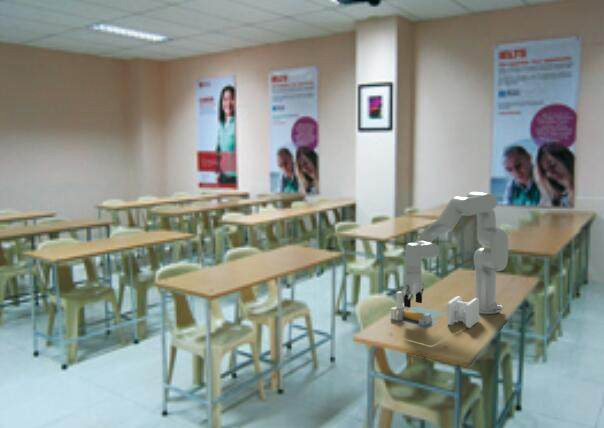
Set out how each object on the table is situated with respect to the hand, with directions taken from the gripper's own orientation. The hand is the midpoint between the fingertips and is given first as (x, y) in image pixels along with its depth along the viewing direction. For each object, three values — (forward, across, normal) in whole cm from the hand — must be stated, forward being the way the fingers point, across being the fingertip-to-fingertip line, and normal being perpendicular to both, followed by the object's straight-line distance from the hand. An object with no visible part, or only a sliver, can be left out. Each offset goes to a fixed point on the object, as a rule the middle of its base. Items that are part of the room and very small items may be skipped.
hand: (413, 304), depth 242 cm
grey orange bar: (+8, -1, 0) cm, 8 cm away
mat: (+8, -14, -3) cm, 16 cm away
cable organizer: (+8, -12, +19) cm, 24 cm away
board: (+8, -1, 0) cm, 8 cm away
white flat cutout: (+8, -1, -8) cm, 11 cm away
